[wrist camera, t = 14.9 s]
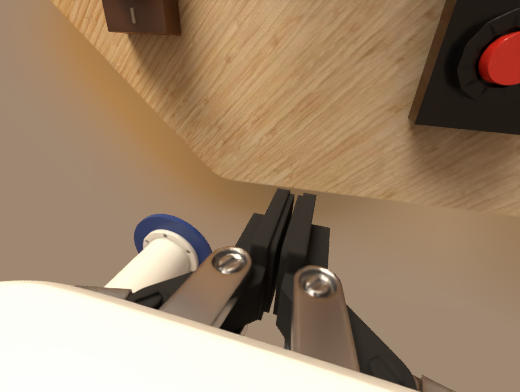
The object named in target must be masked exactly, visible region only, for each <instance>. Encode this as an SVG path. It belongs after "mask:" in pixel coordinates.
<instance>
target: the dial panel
mask: <svg viewBox="0 0 520 392" xmlns="http://www.w3.org/2000/svg"><path fill="white" fill-rule="evenodd" d="M102 3H103V8H104V13H105V17H106V22H107V27H108V31H109V32H117V33H126V34H153V35H181V29H180V18H179V8H178V0H102Z"/></svg>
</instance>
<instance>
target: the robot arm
mask: <svg viewBox="0 0 520 392" xmlns="http://www.w3.org/2000/svg"><path fill="white" fill-rule="evenodd" d="M315 200H316V195H313V194H308V193H304V195H303V196H300V195H298V198H297V201H296V204H295V207H294V211H293V214H292V210H293V203H294V194H290V190H284V189H279V188H278V189H277V191H276V193H275V195H274V197H273V199H272V201H271V203H270V206H269V207H268V209H267V211H266V213H265V215H263V214H257V213H254V214H253V215H252V217H251V219H250V221H249V223H248V224H247V226H246V228H245V230H244V231H243V233H242V235H241V237H240V238H239V240H238V242H237V244H236V245H235V247H234V246H227V247H222V248H219V249H217V250H215V251H214V252H212V253H211V254H210V255H209V256H208V257H207V258H206V259H205V261H204V262H203V263H202V264H201V265H200V266H199V260H198V256H197V254H196V252H195V250H194V248H193V247H192V246H191V244H190V243H189V242H188V241H187V240H185V239H184V238H183V237H182V236H180V235H178V234H176V233H174V232H172V231H168V230H162V229H160V230H154V231H152V232H151V233H149V234H148V235H147V236H146V237H145V239H144V242H143V250H142V251H141V252H140V253H139V254H138V255H137V256H136V257H135V258H134V259H133V260H132V261H131V262H130V263H129V264H128V265H127V266H126V267H125V268H124V269H123V270H122V271H120V272H119V274H117V275H116V276H115V277H114V278H113V279H112V280H111V281H110V282H109V283H108V284H107V285H106V286H105V287H90V286H70V285H66V284H60V283H53V282H46V281H28V280H27V281H26V280H18V281H3V282H0V392H455V391H453V390H451V389H449V388H447V387H445V386H443V385H441V384H439V383H437V382H435V381H433V380H431V379H429V378H427V377H425V376H423V375H422V377H421V378H418V377H416V376H414V375H412V374H411V372H410V371H409V369H408V368H407V367H406V365H405V364H404V363H403V362H402V361H401V360H400V359H399V358H398V357H397V356H396V355H395V354H394V353H393V352H392V351H391V350H390V349H389V347H388V346H387V345H386V344H384V342H383V341H382V340H381V339H380V338H379V337H378V336H377V335H376V334H375V333H374V332H373V331H372V330H371V329H370V328H369V327H368V326H367V325H366V324H365V323H364V322H363V321H362V320H361V319H360V318H359V317H358V316H357V315H356V314H355V313H354V312H353V311H352V310H351V309H350V308H349V307H348V306H347V305H346V302H345V297H344V292H343V288H342V284H341V282H340V279H339V278H338V277H337V276H336V275H335V274H334V273H332V272H331V271H330V270H328V254H329V235H330V228H328V227H323V226H318V225H313V224H311V223H312V218H313V212H314V206H315ZM198 266H199V267H198ZM276 286H277V287H276ZM275 290H276V295H275V303H274V311H273V314H275V315H277V321H276V326H277V327H278V329H279V330H280V332H281V333H282V335H283V336H284V341H283V348H280V347H277V346H274V345H271V344H267V343H264V342H261V341H258V340H254V339H251V338H248V337H245V336H244V335H245V333H246V331H247V328H248V324H249V323H251V322H253V321H255V320H261V319H262V315H263V312H268V313H269V311H270V307H271V303H272V300H273V297H274V293H275Z"/></svg>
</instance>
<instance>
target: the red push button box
mask: <svg viewBox="0 0 520 392" xmlns="http://www.w3.org/2000/svg"><path fill="white" fill-rule="evenodd" d="M513 32H520V0H446V2H445V5H444V8H443V11H442V14H441V18H440V21H439V24H438V27H437V30H436V33H435V36H434V39H433V42H432V45H431V48H430V51H429V54H428V58H427V61H426V64H425V67H424V70H423V73H422V76H421V79H420V82H419V85H418V88H417V91H416V95H415V98H414V101H413V104H412V107H411V110H410V113H409V116H408V118H409V119H410V120H411V121H412V122H413V123H414V124H418V125H427V126H437V127H447V128H457V129H467V130H477V131H486V132H496V133H506V134H516V135H520V83H518V84H514V85H501V84H495V83H490V82H487V81H485V80H484V79H483V78H482V77H481V76H480V74H479V70H478V64H479V60H480V57H481V55H482V53H483V52H484V50H485V49H486V48H487V47H488V46H489V45H490V44H491V43H492V42H493V41H494V40H496V39H497V38H499V37H501V36H503V35H506V34H509V33H513Z"/></svg>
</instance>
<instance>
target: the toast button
mask: <svg viewBox="0 0 520 392" xmlns="http://www.w3.org/2000/svg"><path fill="white" fill-rule="evenodd" d="M478 70H479V74H480V76H481V77H482V78H483V79H484V80H485V81H487V82H490V83H495V84H501V85H514V84H518V83H520V32H513V33H509V34H506V35H503V36H501V37H499V38H497V39H496V40H494V41H493V42H492V43H491V44H490V45H489V46H488V47H487V48H486V49H485V50H484V52H483V53H482V55H481V57H480V60H479V64H478Z"/></svg>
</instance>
